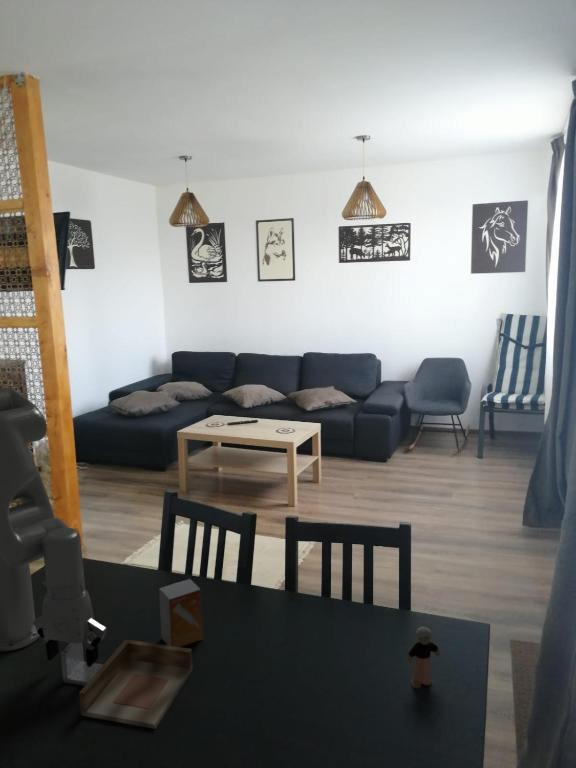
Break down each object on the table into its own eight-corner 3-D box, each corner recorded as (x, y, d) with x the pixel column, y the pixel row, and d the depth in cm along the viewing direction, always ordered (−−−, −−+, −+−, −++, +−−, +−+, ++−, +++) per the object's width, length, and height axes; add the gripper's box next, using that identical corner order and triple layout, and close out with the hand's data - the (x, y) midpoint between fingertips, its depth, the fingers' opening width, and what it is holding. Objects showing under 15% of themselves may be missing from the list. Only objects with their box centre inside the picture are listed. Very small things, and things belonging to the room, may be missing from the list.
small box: (171, 651, 139) (168, 599, 137) (161, 638, 144) (158, 587, 142) (203, 639, 143) (201, 588, 141) (192, 626, 149) (189, 577, 146)
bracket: (63, 682, 129) (60, 652, 128) (79, 664, 135) (77, 636, 134) (92, 687, 128) (89, 657, 126) (107, 669, 133) (105, 640, 132)
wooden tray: (81, 715, 119) (79, 692, 119) (126, 659, 137) (125, 639, 136) (155, 729, 115) (153, 705, 115) (192, 669, 133) (191, 648, 132)
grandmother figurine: (414, 693, 124) (415, 637, 121) (402, 682, 127) (403, 627, 125) (443, 681, 127) (445, 626, 125) (431, 671, 130) (432, 617, 128)
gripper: (19, 591, 127) (27, 664, 130) (92, 600, 123) (98, 676, 126) (41, 574, 134) (48, 644, 137) (111, 582, 130) (117, 654, 133)
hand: (72, 659), depth 132 cm, fingers open, 9 cm apart
